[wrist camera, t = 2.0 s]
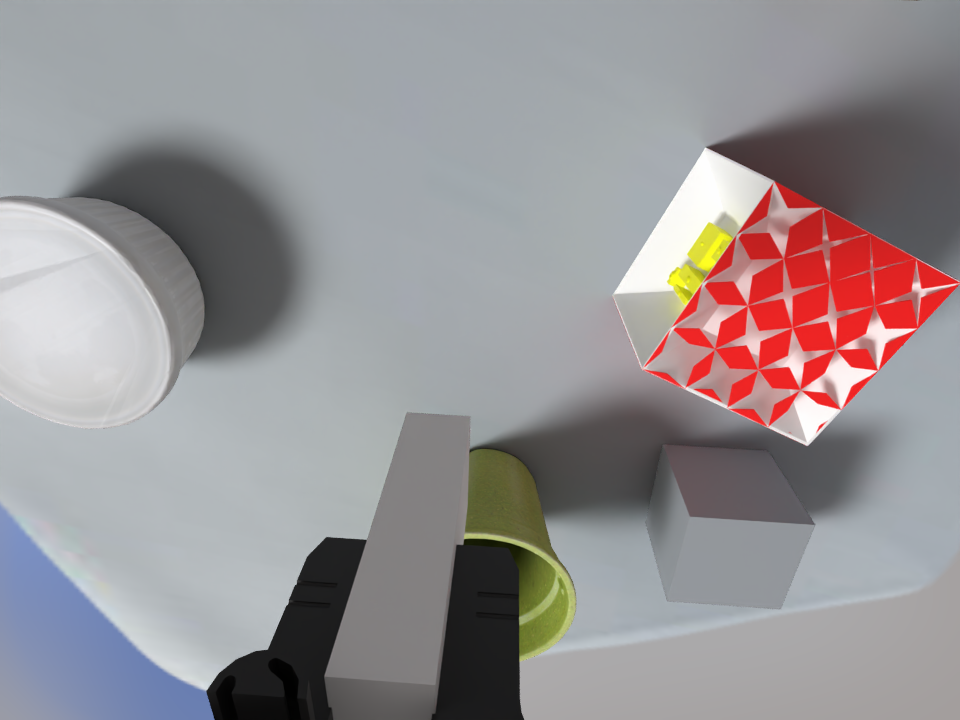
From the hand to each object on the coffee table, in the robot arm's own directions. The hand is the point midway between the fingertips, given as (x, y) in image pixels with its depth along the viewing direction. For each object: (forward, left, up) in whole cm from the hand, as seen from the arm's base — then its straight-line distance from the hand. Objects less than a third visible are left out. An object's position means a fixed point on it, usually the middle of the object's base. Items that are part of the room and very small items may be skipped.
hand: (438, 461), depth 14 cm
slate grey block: (+14, +14, -17) cm, 26 cm away
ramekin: (+3, -19, -17) cm, 26 cm away
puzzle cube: (0, +12, -17) cm, 21 cm away
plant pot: (+15, +1, -17) cm, 22 cm away
